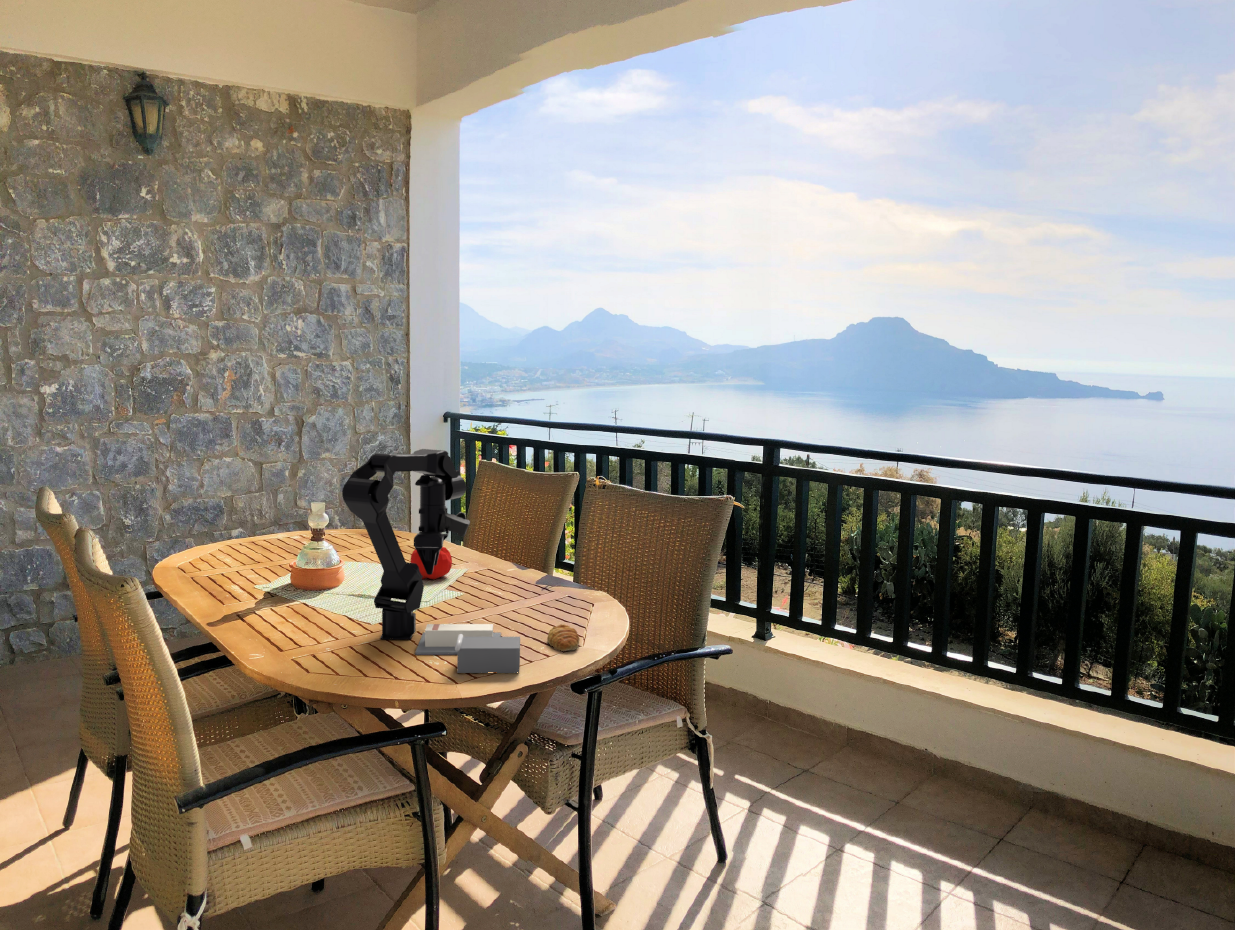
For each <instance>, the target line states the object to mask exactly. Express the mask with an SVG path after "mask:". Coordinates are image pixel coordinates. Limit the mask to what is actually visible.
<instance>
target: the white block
mask: <svg viewBox="0 0 1235 930" xmlns="http://www.w3.org/2000/svg"><path fill="white" fill-rule="evenodd" d="M424 632H425V647H455V646H456V642H457V639H458V635H459V634H462V635H463V637H493V632H494V624H493V623H445V624H444V623H427V624H426V627H425V629H424Z"/></svg>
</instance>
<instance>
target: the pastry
mask: <svg viewBox="0 0 1235 930" xmlns="http://www.w3.org/2000/svg"><path fill="white" fill-rule="evenodd" d="M546 638H547V639H546V640H547V642H548V645H549V644H550V645H549V646H550V647H552V646H553V647H554V648H553V647H552V648H553V649H555V650H556V649H558V650H557V651H560V650H561V651H560V652H562V651H563V652H566V651H576V650H577V648H578V646H579V644H580V641H581V639H580V635H579V634H578V631H577V629H576V628H575V627H571V626H570V625H568V624H563V623H561V624H558V625H556V626H552V628H551V629H550V630H549V632H548V633H547V637H546ZM575 649H576V650H575Z"/></svg>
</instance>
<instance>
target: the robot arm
mask: <svg viewBox="0 0 1235 930" xmlns="http://www.w3.org/2000/svg"><path fill="white" fill-rule="evenodd" d="M401 472H413V473H418V474H422V475H420V477H419V478H418V479H417V480H416V481H415V483H414V485H415V486H416V487H417V486H419V508H418V514H419V526H418V533H417V534H416V535H415V536H413V537H414V538H413V547H414V550H415V549H416V550H417V553H418V555H419V557H420V559H421V561H422V563H423V566H424V568H425V570H426V573H427V574H428V575H432V573H433V568H434V565H437V561H438V557H439V552H440V550H441V549H442V547H444V541H445V540H446V539H447V538H448V537H449V534H450V532H452V533H454V534H457V535H458V536H460V537H465V536H466V534H467V531H468V528H469V526H470V525H471V524H470V523H471V521H470V520H469V519H467V513H466V512H464V511H463V512H462V511H459V512H458V513H456V515H455V514H453V513H452V514H451V513H448V507H447V505H446V502H447V501H450V500H455V499H459V498H461V497H463V496H464V495H465V494H466V492H467V484H466V481H465V479H464V478H463V477H462V476H461V475H460V470H456V468H455V465H454V463H453V461H452V458H451V457H450V455H449V452H448V451H447V450H443V449H442V450H441V449H428V448H422V449H420V448H419V449H418V450H415V451H413V452H412V453H395V454H394V453H380V452H377V453H376V452H375V453H374V454H372V455H371V456H370V457H369V458H368V459H367V462H365V463H364V464H362V465H361V466H360V467H358V468H357V469H356V470H354V471H353V472H352V473H351V475H350V476H349V477H348V479H347V481H346V482H345V484H343V487H342V492H341V495H342V499H343V502H344V504H345V505H346V506H347V508H348V509H349V511H350V512H351V513H353V515H354V516H357V517H356V518H359V519H360V520H361V521H362V523H363V525H364V528H365V529H366V532H367V534H368V537H369V540H370V542H371V544H372V546H373V549H374V551H375V553H376V556H377V558H378V561H379V562H380V563H379V564H380V565H381V567H382V569H383V572H382V575H381V578H380V583H381V584H380V585H381V586H380V588H379V589H378V590H377V591H378V592H377V593H376V595H375V597H374V599H373V603H374V607H375V609H381V617H382V618H381V635H380V636H379V637H380V638H379V639H380V640H411V639H412V637H413V636H414V635H415V633H416V629H417V625H416V624H417V621H416V620H417V619H416V617H417V616H416V615H417V614H416V612H415V611H416V610H418V609H420V608H421V603H422V598H423V593H424V588H425V587H424V586H425V585H424V581H423V579H421V578H423V576H422V575H421V573H420V570H419V567H418V565H417V564H416V563H410V561H409V562H408V561H406V559H405V557H404V554H403V552H402V549H401V547H400V545H399V542H398V540H397V537H396V534H395V531H394V529H393V527H392V525H391V524H392V523H391V521H390V519H389V517H388V515H387V508H388V505H389V501H390V498H389V494H391V492H392V490H393V488H394V476H395V474H396V473H401ZM377 473H383V474H384V475H383V477H382V478H381V480H380V479H372V478H373V477H374V476H375V475H376V474H377ZM392 599H393V600H392ZM399 600H400V601H399Z"/></svg>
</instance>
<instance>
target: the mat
mask: <svg viewBox="0 0 1235 930" xmlns="http://www.w3.org/2000/svg"><path fill="white" fill-rule="evenodd" d="M493 637H502V632H494V631H493ZM457 653H458V651H456V650H455V647H425V631H424V632H422V635H421V637H420V640H419V642H418V645H417V647H416V649H415V654H414V655H418V656H419V655H420V656H421V655H424V656H425V655H427V656H428V655H429V656H430V655H431V656H432V655H435V656H437V655H438V656H439V655H443V656H445V655H446V656H447V655H453V656H454V655H456V656H457Z"/></svg>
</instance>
